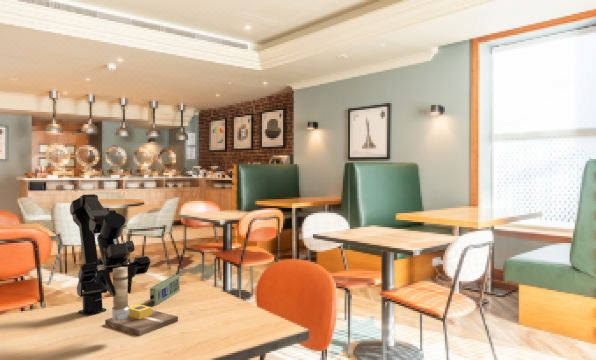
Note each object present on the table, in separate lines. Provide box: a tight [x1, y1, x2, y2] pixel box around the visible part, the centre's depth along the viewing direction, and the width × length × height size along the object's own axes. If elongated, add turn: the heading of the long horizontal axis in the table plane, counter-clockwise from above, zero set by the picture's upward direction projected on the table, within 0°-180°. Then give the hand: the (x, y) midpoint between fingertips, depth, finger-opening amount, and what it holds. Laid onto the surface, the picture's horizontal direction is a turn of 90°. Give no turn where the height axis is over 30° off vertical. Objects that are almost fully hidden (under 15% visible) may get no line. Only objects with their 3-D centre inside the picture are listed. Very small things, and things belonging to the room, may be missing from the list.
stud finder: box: [128, 303, 152, 319], centre depth 137 cm, size 7×4×3 cm, turn 57°
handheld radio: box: [144, 274, 181, 307], centre depth 159 cm, size 7×3×25 cm
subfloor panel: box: [104, 309, 179, 336], centre depth 134 cm, size 17×14×2 cm
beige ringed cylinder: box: [111, 267, 129, 321], centre depth 120 cm, size 4×4×14 cm
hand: (122, 294), depth 119 cm, fingers closed on beige ringed cylinder, 4 cm apart
